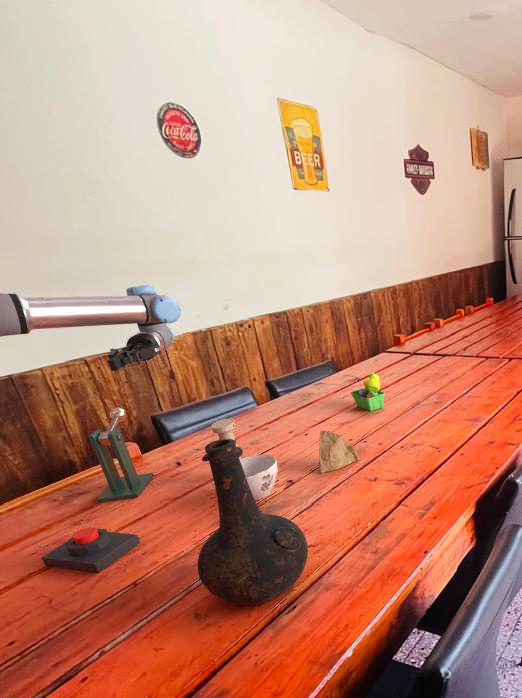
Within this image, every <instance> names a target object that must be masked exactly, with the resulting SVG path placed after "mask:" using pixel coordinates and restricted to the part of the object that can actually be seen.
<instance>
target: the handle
mask: <svg viewBox="0 0 522 698" xmlns="http://www.w3.org/2000/svg"><path fill="white" fill-rule="evenodd" d="M210 428H211V431H212V433H214V434H217V435H218V438H219V439H218V440H222V439H233V440H235V441H236V439H235V438H236V437H235V436H234V432H233V430H234V429H235V428H236V424H235V420H234V418H223V419H219V420H216V421H214V422H213V423H212V424H211V425H210ZM236 447H238V444H237V443H236ZM239 459H242V455H241V456H240V457H239Z"/></svg>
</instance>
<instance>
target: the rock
mask: <svg viewBox="0 0 522 698" xmlns="http://www.w3.org/2000/svg"><path fill="white" fill-rule="evenodd" d="M318 444H319V445H318V446H319V447H318V448H319V452H318V453H319V454H318V455H319V456H318V463H319V464H318V465H319V472H320V474H321V475H323V474H324V473H327V472H333V471H336V470H339V469H341V468H344V467H346V466H349V465H351V464H352V463H355V462H358V461H360V460H361V458H360V456H359V454H358V452H357V451H356V449H355V448H354V446H353V445H352V444H350V443H349V442H348V441H347V440H346V439H344V437H342V436H341V435H339V434H338V433H335V432H332V431H330V430H320V432H319V443H318Z"/></svg>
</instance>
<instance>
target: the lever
mask: <svg viewBox="0 0 522 698" xmlns="http://www.w3.org/2000/svg"><path fill="white" fill-rule="evenodd" d="M109 417H110V419H111V421H110V424H109V426H108V427H107V430H106V431H102V432H101V434H100V436H99V438H98V440H99V442H100V444H101V445H102V447H105V446H108V447H112V445H111V442H110V440H109V437H108V435H107V434H109V433H110V432H111V431H112V430H113V429H114V428H118V424H119V423H121V422H123V421H126V419H127V418H128V413H127V410H125V409H124V408H122V407H114V408H112V409H111V410H110V411H109Z"/></svg>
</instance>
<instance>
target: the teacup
mask: <svg viewBox="0 0 522 698" xmlns="http://www.w3.org/2000/svg"><path fill="white" fill-rule="evenodd" d="M240 462H241V465H242V468H243V471H244V473H245V476H246V479H247V482H248V484H249V487H250V490H251V492H252V494H253V497H254V499H255V501H257V500H261V499H263V498H265V497H267V496H268V495H269V494H270V492H271V491H272V489H273V488H274V486H275V485H276V482H277V480H278V479H277V477H278V461H277V458H275V456H274V455H269V454H257V455H250V456H246V457H243V458H241V459H240Z"/></svg>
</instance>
